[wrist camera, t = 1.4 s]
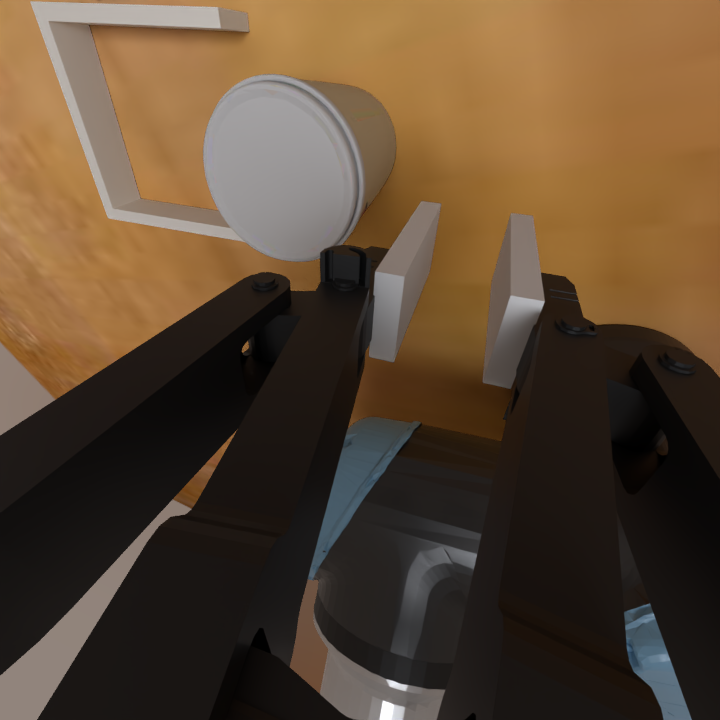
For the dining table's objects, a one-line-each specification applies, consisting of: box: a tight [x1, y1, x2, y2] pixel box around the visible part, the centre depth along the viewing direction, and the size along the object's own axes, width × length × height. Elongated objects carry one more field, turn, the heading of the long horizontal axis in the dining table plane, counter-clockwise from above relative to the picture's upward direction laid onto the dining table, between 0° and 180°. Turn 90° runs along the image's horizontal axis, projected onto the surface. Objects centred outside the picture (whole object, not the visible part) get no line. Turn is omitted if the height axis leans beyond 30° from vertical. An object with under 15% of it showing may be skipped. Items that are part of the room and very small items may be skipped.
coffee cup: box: [203, 74, 396, 262], centre depth 25 cm, size 9×9×12 cm
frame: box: [31, 2, 249, 242], centre depth 31 cm, size 15×15×4 cm
